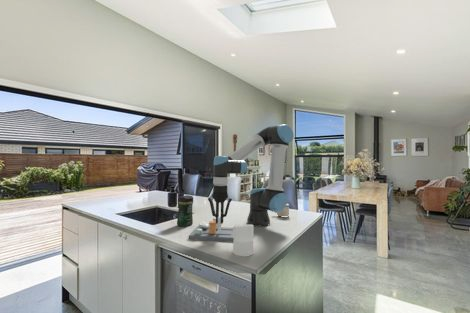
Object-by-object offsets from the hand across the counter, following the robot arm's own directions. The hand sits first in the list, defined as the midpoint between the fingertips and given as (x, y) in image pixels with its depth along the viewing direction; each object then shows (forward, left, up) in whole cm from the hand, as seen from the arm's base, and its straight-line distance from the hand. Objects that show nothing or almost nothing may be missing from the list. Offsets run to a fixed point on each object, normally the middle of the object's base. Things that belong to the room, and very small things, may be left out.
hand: (219, 229), depth 126 cm
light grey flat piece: (+10, -10, -1) cm, 14 cm away
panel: (+3, -5, -5) cm, 7 cm away
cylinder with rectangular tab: (-14, +17, -5) cm, 23 cm away
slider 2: (+3, -9, -2) cm, 10 cm away
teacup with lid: (-38, -58, -5) cm, 69 cm away
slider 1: (+4, 0, -2) cm, 4 cm away
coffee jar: (+25, -22, -5) cm, 34 cm away
